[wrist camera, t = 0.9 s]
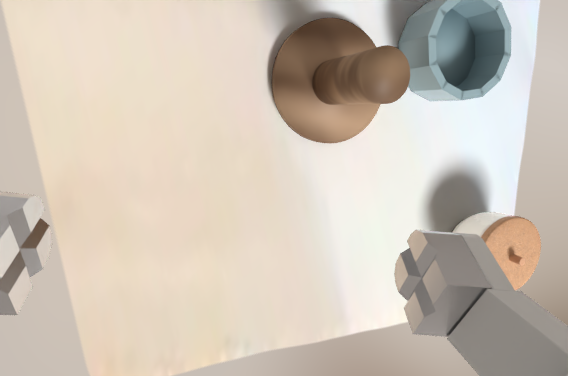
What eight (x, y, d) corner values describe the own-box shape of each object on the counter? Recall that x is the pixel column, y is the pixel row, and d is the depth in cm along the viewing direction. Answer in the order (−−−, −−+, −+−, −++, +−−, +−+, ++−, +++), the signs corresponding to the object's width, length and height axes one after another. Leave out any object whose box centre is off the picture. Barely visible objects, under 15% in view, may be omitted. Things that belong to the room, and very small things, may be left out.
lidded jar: (427, 228, 55) (479, 251, 46) (482, 190, 57) (543, 205, 48) (449, 285, 58) (502, 316, 50) (501, 247, 60) (560, 271, 52)
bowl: (396, 5, 46) (426, -8, 41) (474, -1, 50) (511, -13, 45) (401, 105, 49) (430, 105, 44) (475, 93, 53) (510, 91, 48)
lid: (263, 25, 42) (305, -6, 31) (374, 15, 46) (448, -15, 35) (280, 151, 45) (323, 165, 34) (382, 132, 49) (452, 139, 38)
